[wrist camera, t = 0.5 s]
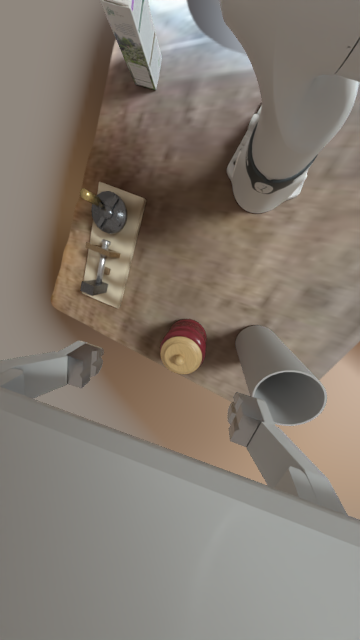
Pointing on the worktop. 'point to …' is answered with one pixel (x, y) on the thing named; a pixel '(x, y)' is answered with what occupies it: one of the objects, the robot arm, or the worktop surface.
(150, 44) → the syrup box
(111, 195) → the handwheel
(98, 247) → the eye post
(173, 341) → the canister
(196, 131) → the worktop surface
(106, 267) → the board
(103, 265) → the hammer
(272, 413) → the cylinder vase
